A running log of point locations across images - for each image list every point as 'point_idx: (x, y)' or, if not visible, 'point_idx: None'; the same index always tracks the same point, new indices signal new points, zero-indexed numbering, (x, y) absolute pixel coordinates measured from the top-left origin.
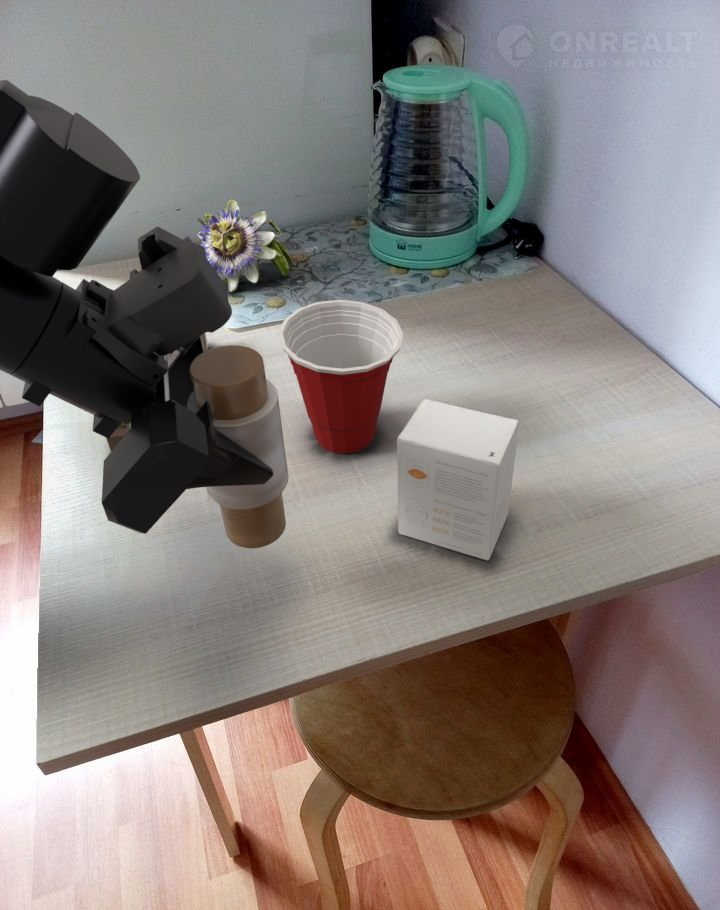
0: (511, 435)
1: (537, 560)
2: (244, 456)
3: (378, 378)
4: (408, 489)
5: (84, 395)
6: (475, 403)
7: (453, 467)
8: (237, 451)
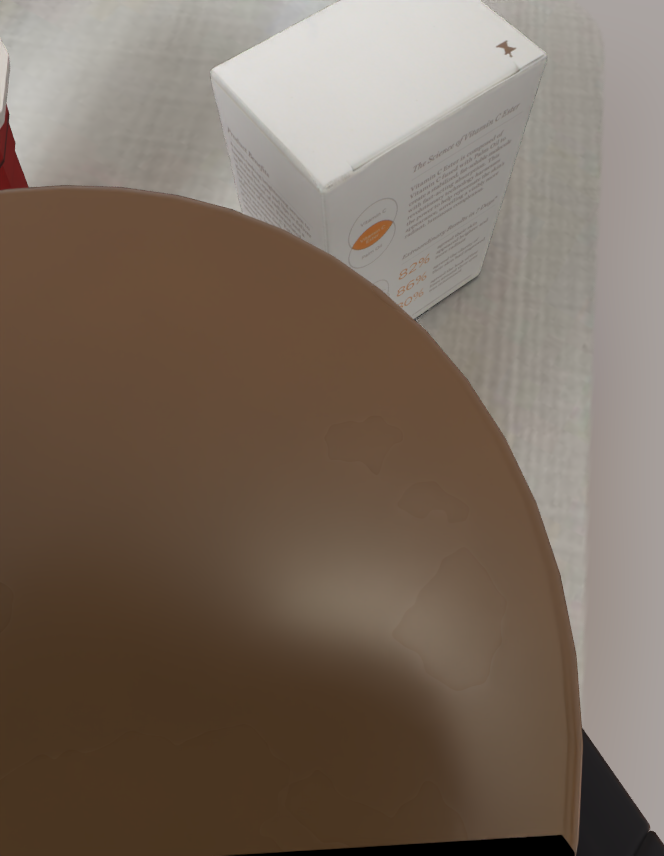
0: None
1: (510, 212)
2: (617, 787)
3: (11, 135)
4: None
5: None
6: (104, 92)
7: (451, 148)
8: (641, 846)
